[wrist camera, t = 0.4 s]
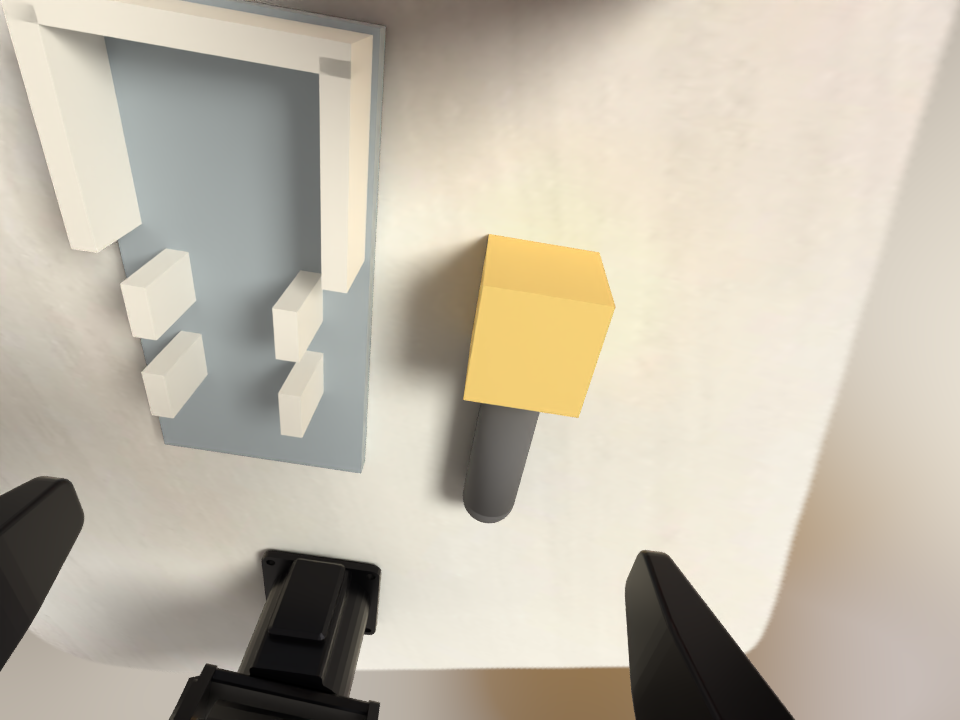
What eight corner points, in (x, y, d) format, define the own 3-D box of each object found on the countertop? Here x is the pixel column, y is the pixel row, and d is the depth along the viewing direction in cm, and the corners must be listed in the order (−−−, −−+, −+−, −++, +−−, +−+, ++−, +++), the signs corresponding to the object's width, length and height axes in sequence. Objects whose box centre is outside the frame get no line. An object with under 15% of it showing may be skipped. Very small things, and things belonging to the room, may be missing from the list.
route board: (364, 460, 27) (345, 521, 24) (173, 432, 26) (129, 490, 23) (386, 26, 16) (356, 37, 13) (73, -31, 16) (-27, -32, 13)
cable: (526, 499, 27) (527, 571, 24) (445, 487, 27) (435, 557, 24) (599, 252, 20) (615, 307, 17) (489, 233, 20) (483, 285, 17)
